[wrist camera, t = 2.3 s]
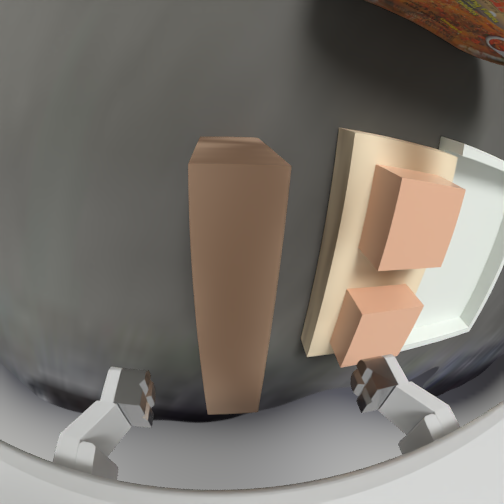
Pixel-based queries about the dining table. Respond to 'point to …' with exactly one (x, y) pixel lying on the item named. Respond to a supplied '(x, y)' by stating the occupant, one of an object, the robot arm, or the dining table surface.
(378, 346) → the tile
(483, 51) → the tin
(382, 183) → the tile
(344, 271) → the board
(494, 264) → the tray
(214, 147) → the tall tan block
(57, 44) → the dining table surface
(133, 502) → the robot arm
